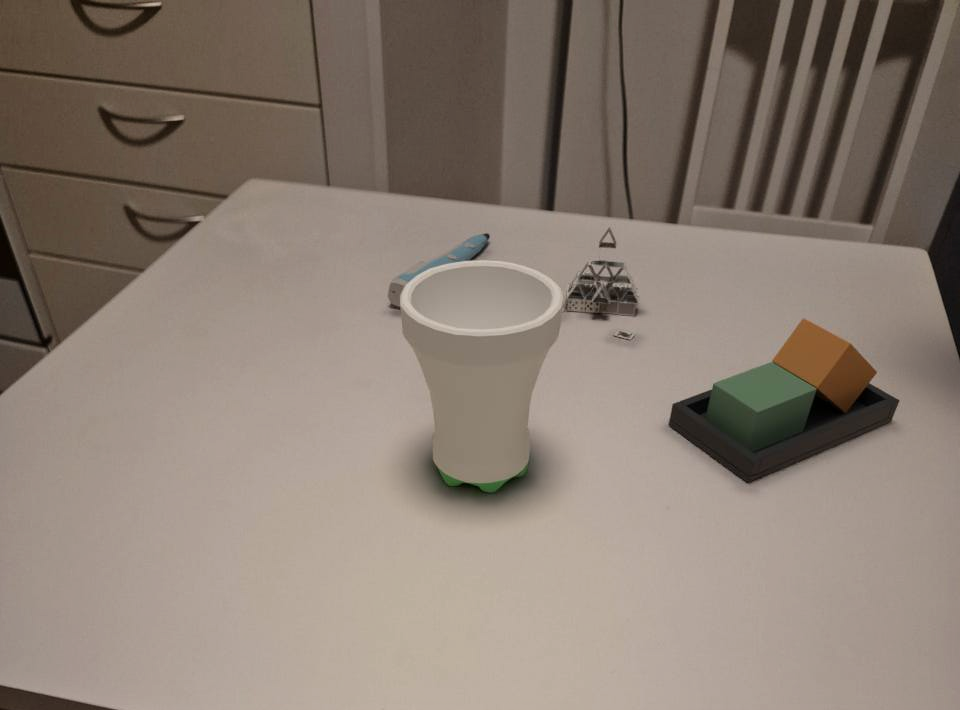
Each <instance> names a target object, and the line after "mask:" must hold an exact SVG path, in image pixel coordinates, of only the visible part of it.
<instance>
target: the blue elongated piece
mask: <svg viewBox="0 0 960 710" xmlns="http://www.w3.org/2000/svg"><path fill="white" fill-rule="evenodd" d="M490 238H491V236H490V234H489V233H487V232H486V233H480V234H475V235H473V236H472V237H471V236H470V237H469V238H468V239H466V240H464V241H463V242H461V243H459V244H457V245H456V246H454V247H452V248H451V249H449V250H448V251H446V252H444V253H442V254H440V255H439V256H436V257H434V258H431V259H428V260H425V261H423V260H422V261H421V260H420V261H418V262H417V263H415V264H413V265H412V266H410V267H409V268H407V269H406V270H405V271H404V272H402V273H400V274H398V275H397V276H396V277H394V278H393V279H392V281H391V282H390V284H389V287H388V292H387V297H388V300H389V302H390V304H392V306H393V305H394V307H397V308H398V307H399V308H400V295H401V293H402V291H403V289H404V287H405V285H406V284H407V283H409V282H410V281H411V280H412V279H413V278H414V277H416V276H417V275H419V274H420V273H422V272H424V271H426V270H428V269H430V268H433V267H437V266H441V265H444V264H449V263H455V262H462V261H471V259H473V257H475V256H476V255H477V254H478V253H479V252H480V251H482V249H483V248H484V247H485V246H486V245H487V244H488V242H489V239H490Z"/></svg>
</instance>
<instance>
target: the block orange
mask: <svg viewBox="0 0 960 710" xmlns="http://www.w3.org/2000/svg"><path fill="white" fill-rule="evenodd" d="M771 362H773V363H774V364H776V365H778V366H779V367H781V368H783V369H784V370H786V371H788V372H790V373H791V374H793V375H795V376H796V377H798V378H800V379H801V380H803V381H805V382H806V383H808V384H810V385H811V386H813V387H815V388H816V389H817V390H816V393H815V396H817V397H819V398H820V399H822V400H824V401H825V402H827V403H829V404H830V405H832V406H834V407H835V408H837V409H839V410H840V411H842V412H844V413H846V412H847V411H848V410H849V408H850V407H851V406H852V404H853V403H854V402H855V400H856V399H857V398H858V397H859V395H860V394H861V393H862V391H863V390H864V389H865V388H866V386H867V385H868V384H869V383H871V381H872V380H873V379H874V378H875V376H877V374H878V371H877V370H876V369H875V368H874V367H873V366H872V365H871V364H870V363H869V361H868V360H867V359H866V358H865V357H864V356H863V355H862V354H861V353H860V351H858V349H857V348H856V347H855V346H854V345H853V344H852V343H851V342H849V341H848V340H846V339H844V338H841V337H840V336H838V335H836V334H834V333H833V332H830V331H829V330H827V329H825V328H823V327H821V326H819V325H818V324H816V323H814V322H812V321H810V320H809V319H807V318H805V317H803V318H802V319H801V320H800V322H799V323H798V324H797V325H796V327H795V328H794V329H793V331H792V332H791V334H790V335H789V337H788V338H787V339H786V341H785V342H784V344H783V345H782V346H781V348H780V349H779V351H778V352H777V353H776V355H775V356H774V357H773V359H772V361H771Z"/></svg>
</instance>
